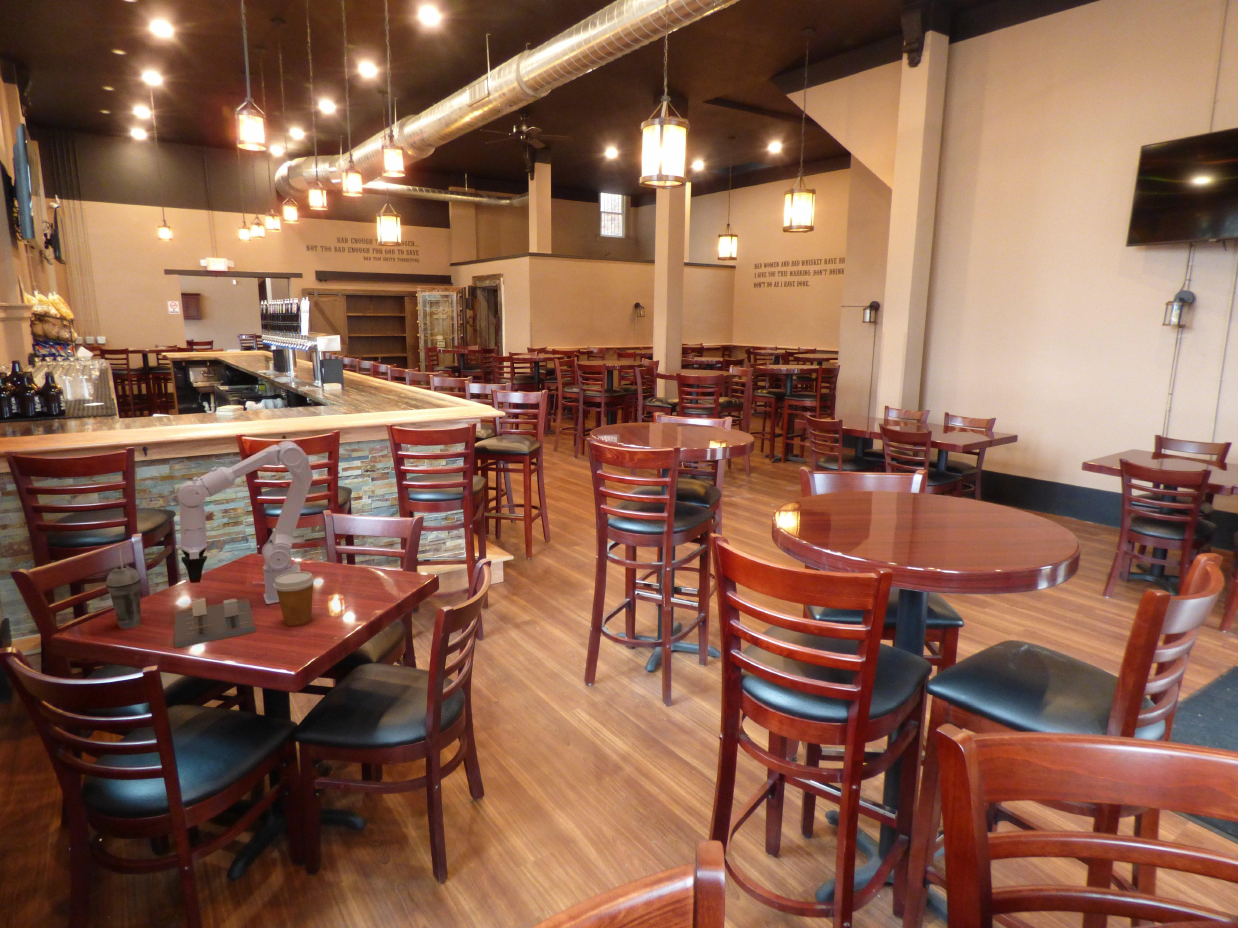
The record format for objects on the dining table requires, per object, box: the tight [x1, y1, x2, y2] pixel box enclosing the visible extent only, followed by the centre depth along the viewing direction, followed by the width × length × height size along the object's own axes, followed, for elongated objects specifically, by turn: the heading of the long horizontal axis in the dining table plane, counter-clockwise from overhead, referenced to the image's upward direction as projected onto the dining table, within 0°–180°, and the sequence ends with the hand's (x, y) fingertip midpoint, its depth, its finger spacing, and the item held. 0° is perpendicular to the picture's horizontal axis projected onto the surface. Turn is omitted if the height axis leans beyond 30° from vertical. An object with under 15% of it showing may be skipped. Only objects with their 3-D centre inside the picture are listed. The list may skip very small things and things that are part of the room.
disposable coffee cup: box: [274, 570, 316, 627], centre depth 180 cm, size 10×10×12 cm
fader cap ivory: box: [190, 597, 207, 617], centre depth 181 cm, size 3×2×4 cm, turn 121°
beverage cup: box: [105, 548, 142, 630], centre depth 177 cm, size 7×7×20 cm
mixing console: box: [174, 598, 256, 649], centre depth 179 cm, size 17×21×2 cm
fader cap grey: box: [222, 598, 239, 618], centre depth 181 cm, size 3×2×4 cm, turn 121°
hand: (195, 577), depth 185 cm, fingers open, 7 cm apart
